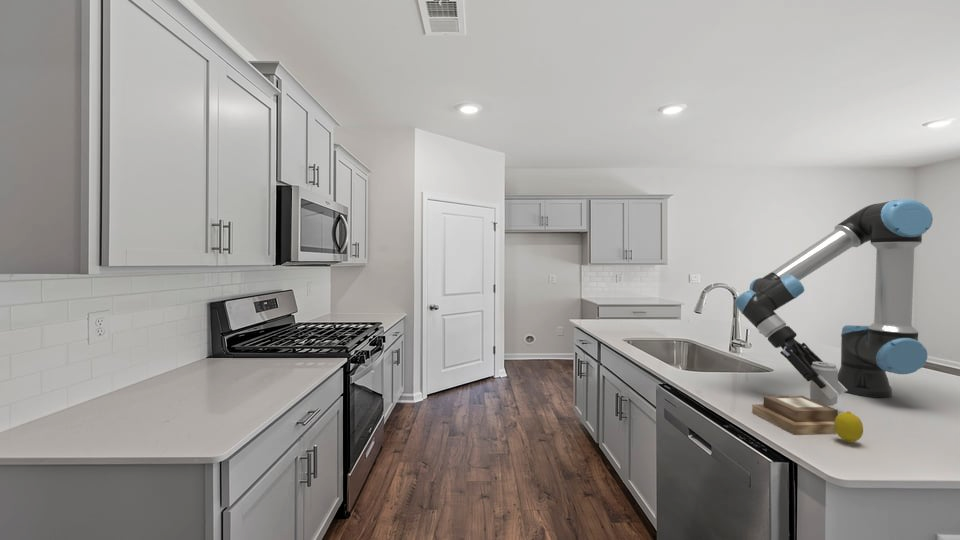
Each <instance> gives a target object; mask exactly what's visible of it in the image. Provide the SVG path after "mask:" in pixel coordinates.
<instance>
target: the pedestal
mask: <svg viewBox="0 0 960 540" xmlns="http://www.w3.org/2000/svg"><path fill="white" fill-rule="evenodd" d="M751 413H752V414H753V415H756V416H758V417H760V418H761V419H764V420H765V421H767V422H769V423H771V424H773V425H775V426H777V427H779V428H781V429H783V430H784V431H787V432H788V433H790V434H791V435H831V434H835V435H836V434H837V433H836V431H835V428H834V423H835V419H836V417H837V416H838V415H839V410H838V409H836V408H834V407H832V406H826V405H824V404H821V403H819V402H816V401H814V400H811V399H810V398H809V397H806V396H804V395H786V396H785V395H784V396H783V395H781V396H779V395H777V396H776V395H775V396H771V395H770V396H763V403H758V404H757V403H756V404H755V403H754V404H752V406H751ZM837 435H838V434H837Z"/></svg>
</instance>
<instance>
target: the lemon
mask: <svg viewBox="0 0 960 540" xmlns="http://www.w3.org/2000/svg"><path fill="white" fill-rule="evenodd" d="M863 425H864V424H863V422H862V421H861V418H859V416H857V415H856V414H854V413H852V411H844V412H840V413H838V416H837V417H836V419H835V423H834V428H835V431H836V433H837V436H838V437H839V438H841V440H844V441H845V443H848V444H850V443H852V442H856V441H859V440H860V439H861V438H862V436H863V434H864V426H863Z"/></svg>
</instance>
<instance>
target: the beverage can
mask: <svg viewBox="0 0 960 540" xmlns="http://www.w3.org/2000/svg"><path fill="white" fill-rule="evenodd" d="M811 367H812V368H813V369H814V371H815V372H816V373H817V374H818V376H819V375H820V376H821V377H822V378H823V379H824V380H825V381H827V382H828V383H829V384H830V385H831V386H832V387H833V388H834V389H835V391H836V392H837V388H838V372H839V369H838V368H837V364H836V363H832V362H826V361H823V362H812V365H811ZM818 376H817V377H818ZM809 382H810V383H809V387H810V391H809V392H810V393H809V397H810V398H809V399H811V400H814V401H816V402H819V403H821V404H824V405H826V406H829V407H833V406H835V405H836V404H837V403H838V395H837V396H836V397H834V398H832V399H829V398H828V397H827V396H826V395H825V394H824V393H823V392H822V391H821V390H820V389H819V388H818V387H817V386H816V384H815V383H814V382H813V381H812V380H810V381H809Z"/></svg>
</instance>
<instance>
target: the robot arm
mask: <svg viewBox="0 0 960 540" xmlns="http://www.w3.org/2000/svg"><path fill="white" fill-rule="evenodd" d="M932 224H933V214H932V212H931V210H930V208H929V207H928V206H927V205H925V204H924V203H922V202H921V201H918V200H915V199H912V198H910V199H909V198H907V199H905V198H903V199H894V200H890V201H884V202H880V203H879V202H878V203H874V204H870V205H866V206H865V207H862V208H860V209H859V210H858V211H855V212H854V213H853V214H852V215H850V216H849V217H847V218H846V219H844V220H842V221H841V222H840V223H838V224H837V225H835V226H834V230H833V231H832V232H830V233H829V234H827V235H825V236H824V237H822V238H821V239H819V240H818V241H816V242H815V243H814V244H812V245H810V246H809V247H808V248H806V249H805V250H803V251H802V252H800V253H798V254H797V255H795V256H794V257H792V258H791V259H789V260H788V261H786V262H785V263H783V264H782V265H780V266H779V267H777V268H776V269H774V270H773V271H771V272H769V273H768V274H766V275H764V276H763V277H759V278H756V279H754V280H752V281H751V282H750V285H749V290H747V291H744V292H743V293H741V294H740V295H738V296H737V297H736V299H735V300H734V305H735V307H736V308H737V309H738V310H739V311H740V313H741V314H742V315H743V316H744V317H745V318H746V319H747V320H748V321H749V322H750V323H751V324H752V325H753V326H754V327H755V328H756V330H758V332H759V334H762V335H763V337H764V338H767V341H768V342H769V343H770V344H771V345H772V346H773V347H774V348H775V349H778V348H781V349H782V350H781V351H780V354H781V355H782V356H783V357H784V358H785V359H786V360H787V361H788V362H789V363H790V364H791V365H792V366H793V367H794V369H796V370H797V372H798V373H799V374H800V375H801V376H802V377H803V378H804V379H805V380H806V381H807V382H810V380H812V381H813V382H814V383H815V384H816V386H817V387H818V388H819V389H820V390H821V391H822V392H823V393H824V394H825V395H826V396H827V397H828V398H829V399H832V398H834V397H836V396H837V397H838V396H840V395H842V394H844V393H848V394H852V395H857V396H862V397H863V396H864V397H869V398H871V397H872V398H890V397H892V396H893V389H892V386H890V382H889V378H888V376H887V372H888V373H892V374H895V375H908V374H909V375H911V374H913V373H916V372H917V371H919V370H920V369H922V368H923V367H924V365H925V364H926V362H927V360H928V352H927V351H928V350H927V349H926V347H925V346H924V345H923V344H922V343H921V342H920V341H919V331H918V329H916V328H915V327H914V326H913V323H912V320H913V297H914V295H913V294H914V270H915V269H914V266H915V265H914V264H915V249H916V248H917V247H918V246H919V245H921V244H922V242H923V241H922V240H923V239H922V237H923V234H925V233H926V232H927V231H928V230H930V228H931V226H932ZM867 242H870V245H872V246H873V247H874V248H875V249H876V253H875V255H876V257H875V259H876V260H875V261H876V263H875V286H874V287H875V288H874V289H875V293H874V315H873V316H874V318H873V319H874V320H873V323H872V324H870V325H850V324H849V325H847V324H846V325H844V326H842V328H841V329H842V331H841V333H840V337H841V343H840V345H841V348H840V349H841V350H840V357H841V358H840V360H841V361H840V368H839V369H838V388H837V392H836V391H835V389H834V388H833V387H832V386H831V385H830V384H829V383H828V382H827V381H825V380H824V379H823V378H822V377H821V376H820V375H819V376H818V374H817V373H816V372H815V371H814V369H813V368H812V367H811V365H812V362H824V361H823V360H822V359H821V358H820V357H819V356H818V355H817V354H815V352H814V351H812V349H810V348H809V346H808V345H807V344H806V343H804V342H802V343H800V342H799V341H797V340H796V339H795V338H796V337H797V332H795V330H793V329H792V328H791V327H790V325H789V326H788V325H787V322H786V321H785V320H784V319H782V318H781V316H780V315H778V314H777V313H776V312H775V311H777V310H778V309H780V308H781V307H782V306H785V305H786V304H788V303H790V302H791V301H793V300H795V299H797V298H798V297H799V296H801V295H802V294H803V293H804V292H805V287H804V284H803V283H802V282H801V280H802V279H804V278H806V277H807V276H808V275H810V274H812V273H813V272H815V271H817V270H819V269H820V268H821V267H824V265H826V264H828V263H829V262H830V261H833V260H834V259H836V258H837V257H838V256H840V255H842V254H843V253H845V252H847V251H848V250H849V249H851V248H858V247H860V246H862V245H863V244H865V243H867ZM817 376H818V377H817Z"/></svg>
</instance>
